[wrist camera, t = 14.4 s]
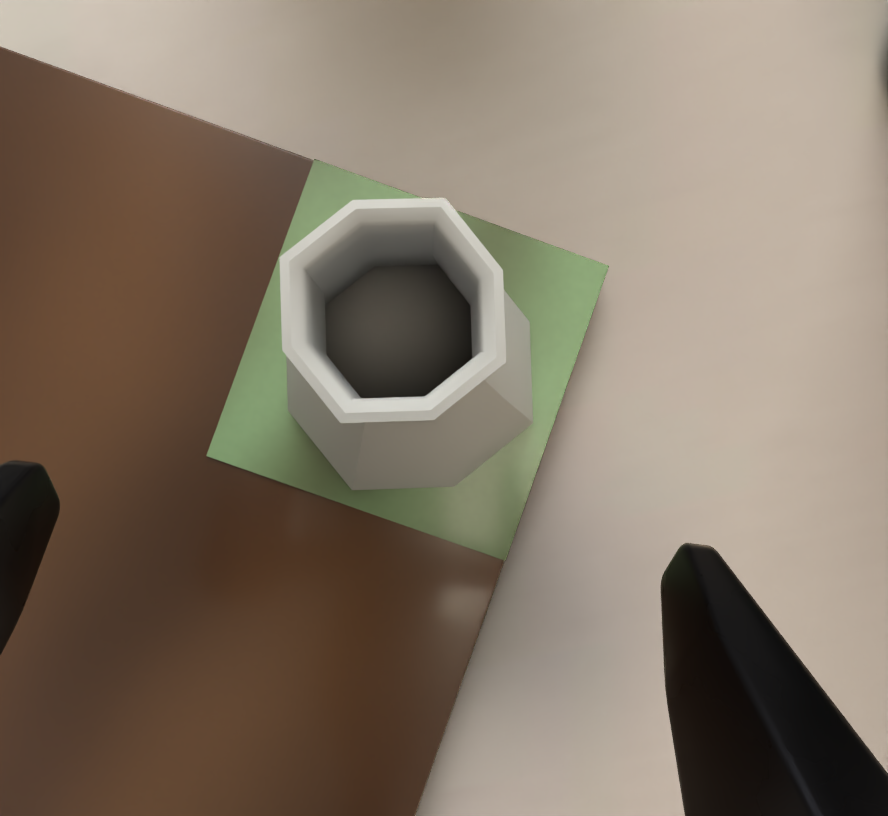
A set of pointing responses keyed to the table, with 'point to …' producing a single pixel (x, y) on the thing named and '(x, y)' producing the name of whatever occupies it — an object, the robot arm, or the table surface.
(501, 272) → the flask
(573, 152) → the table surface
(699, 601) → the robot arm
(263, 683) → the walnut board
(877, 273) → the table surface
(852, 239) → the table surface
